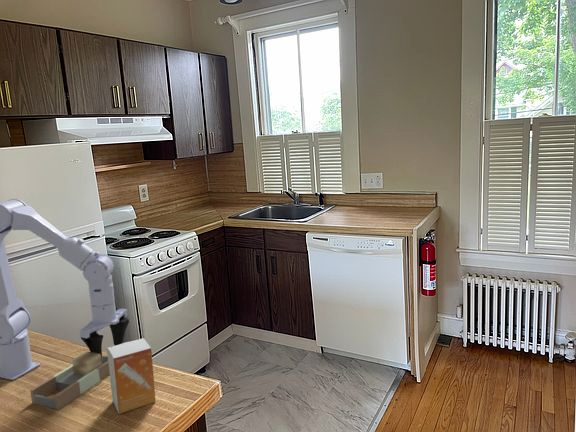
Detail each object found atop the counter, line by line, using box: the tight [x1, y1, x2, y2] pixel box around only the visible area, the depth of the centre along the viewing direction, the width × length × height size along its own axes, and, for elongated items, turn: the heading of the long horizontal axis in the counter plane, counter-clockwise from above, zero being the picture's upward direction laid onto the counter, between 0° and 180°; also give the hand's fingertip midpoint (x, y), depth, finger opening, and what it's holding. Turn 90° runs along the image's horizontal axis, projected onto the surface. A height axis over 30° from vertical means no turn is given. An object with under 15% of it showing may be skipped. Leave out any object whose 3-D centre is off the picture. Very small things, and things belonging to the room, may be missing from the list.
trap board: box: [29, 355, 110, 410], centre depth 106 cm, size 8×20×3 cm, turn 159°
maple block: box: [72, 351, 102, 375], centre depth 108 cm, size 4×4×4 cm
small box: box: [106, 337, 156, 415], centre depth 97 cm, size 8×6×13 cm
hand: (108, 352), depth 115 cm, fingers open, 7 cm apart
